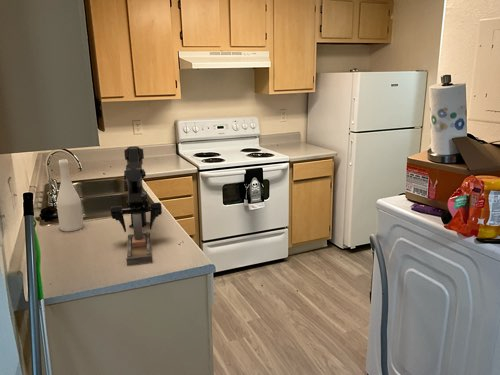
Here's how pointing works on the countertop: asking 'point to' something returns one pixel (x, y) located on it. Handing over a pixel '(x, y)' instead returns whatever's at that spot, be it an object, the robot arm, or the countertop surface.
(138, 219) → the carriage
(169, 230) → the countertop surface
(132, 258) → the guide rail
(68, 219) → the wine bottle
